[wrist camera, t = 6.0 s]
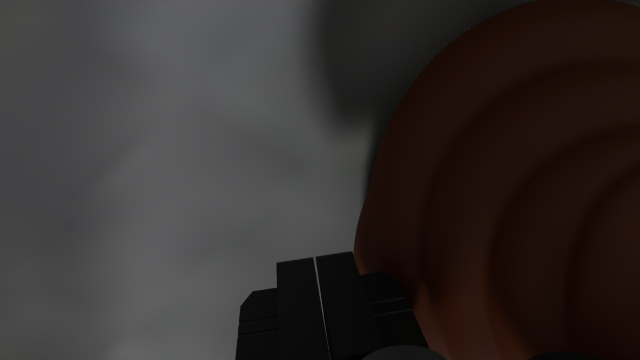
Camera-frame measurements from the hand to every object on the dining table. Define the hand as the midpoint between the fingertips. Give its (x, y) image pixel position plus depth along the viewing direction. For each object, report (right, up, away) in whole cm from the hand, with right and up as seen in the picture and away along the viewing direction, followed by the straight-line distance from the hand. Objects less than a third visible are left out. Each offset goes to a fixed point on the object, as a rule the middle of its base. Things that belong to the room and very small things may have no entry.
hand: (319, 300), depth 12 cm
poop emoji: (+5, +2, +3) cm, 6 cm away
